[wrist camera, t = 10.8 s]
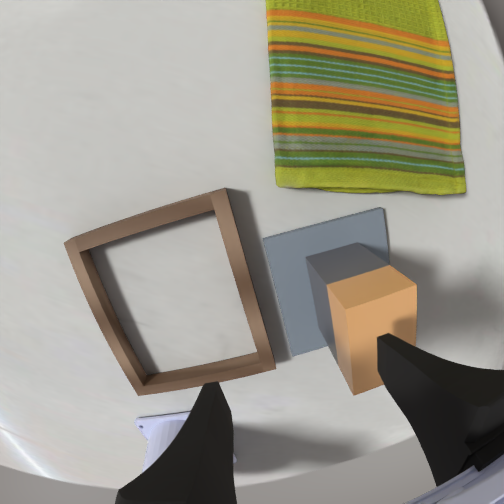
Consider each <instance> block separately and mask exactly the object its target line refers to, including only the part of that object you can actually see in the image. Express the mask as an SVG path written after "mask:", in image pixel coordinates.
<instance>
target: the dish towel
mask: <svg viewBox="0 0 504 504" xmlns="http://www.w3.org/2000/svg"><path fill="white" fill-rule="evenodd" d="M266 11H267V27H268V52H269V66H270V79H271V101H272V127H273V142H274V151H275V177H276V185H277V186H278V187H280V188H318V189H322V190H325V191H332V192H347V193H373V192H379V193H385V192H395V191H411V192H415V193H418V194H437V195H445V194H461V193H465V192H466V182H465V168H464V161H463V156H462V151H461V146H460V121H459V110H458V98H457V90H456V83H455V76H454V70H453V64H452V57H451V51H450V46H449V41H448V37H447V33H446V29H445V25H444V21H443V17H442V13H441V10H440V6H439V2H438V0H266Z"/></svg>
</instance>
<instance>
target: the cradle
mask: <svg viewBox="0 0 504 504" xmlns="http://www.w3.org/2000/svg"><path fill="white" fill-rule="evenodd" d="M211 210H215V214H216V217H217V221H218V224H219V228H220V231H221V234H222V238H223V241H224V245H225V248H226V251H227V255H228V258H229V261H230V265H231V268H232V271H233V275H234V278H235V281H236V285H237V288H238V291H239V294H240V298H241V301H242V304H243V307H244V311H245V314H246V317H247V320H248V323H249V327H250V330H251V333H252V336H253V339H254V342H255V346H256V349H257V352H256V353H252V354H248V355H244V356H240V357H236V358H231V359H227V360H223V361H218V362H214V363H209V364H204V365H199V366H195V367H190V368H184V369H179V370H174V371H168V372H163V373H157V374H151V375H146V373H145V371H144V369H143V368H142V366H141V364H140V362H139V360H138V358H137V356H136V354H135V353H134V351H133V349H132V347H131V345H130V343H129V341H128V339H127V337H126V335H125V333H124V331H123V329H122V327H121V325H120V323H119V320H118V318H117V316H116V314H115V312H114V310H113V307H112V305H111V303H110V301H109V298H108V296H107V294H106V292H105V289H104V287H103V284H102V282H101V280H100V277H99V275H98V272H97V270H96V267H95V265H94V262H93V260H92V257H91V254H90V252H89V249H90V248H93V247H96V246H99V245H102V244H104V243H107V242H110V241H113V240H116V239H120V238H123V237H126V236H129V235H132V234H135V233H138V232H141V231H144V230H148V229H151V228H154V227H157V226H160V225H164V224H167V223H170V222H174V221H177V220H180V219H184V218H187V217H190V216H194V215H197V214H201V213H204V212H208V211H211ZM64 245H65V248H66V251H67V253H68V256H69V258H70V261H71V264H72V266H73V269H74V271H75V274H76V276H77V279H78V281H79V283H80V286H81V288H82V290H83V293H84V295H85V297H86V299H87V302H88V304H89V306H90V308H91V310H92V312H93V314H94V317H95V319H96V321H97V323H98V325H99V327H100V329H101V331H102V333H103V335H104V337H105V339H106V341H107V342H108V344H109V346H110V348H111V350H112V352H113V354H114V355H115V357H116V359H117V361H118V363H119V364H120V366H121V368H122V370H123V371H124V373H125V375H126V376H127V378H128V380H129V382H130V383H131V385H132V386H133V388H134V390H135V391H136V393H137V395H138V396H141V395H149V394H156V393H163V392H169V391H175V390H181V389H187V388H193V387H198V386H203V385H204V384H205V383H210V382H215V381H218V382H223V381H228V380H233V379H237V378H242V377H246V376H250V375H254V374H258V373H262V372H266V371H270V370H274V369H276V365H275V361H274V357H273V353H272V350H271V346H270V343H269V339H268V336H267V332H266V329H265V325H264V322H263V318H262V315H261V311H260V308H259V304H258V301H257V297H256V294H255V290H254V287H253V283H252V280H251V276H250V273H249V269H248V266H247V262H246V258H245V255H244V251H243V248H242V244H241V241H240V237H239V233H238V230H237V226H236V223H235V219H234V216H233V212H232V208H231V205H230V201H229V198H228V194H227V190H226V188H223V189H219V190H216V191H212V192H209V193H205V194H202V195H198V196H195V197H191V198H188V199H185V200H181V201H178V202H175V203H172V204H169V205H165V206H162V207H159V208H156V209H153V210H150V211H147V212H144V213H141V214H138V215H135V216H132V217H129V218H126V219H123V220H120V221H117V222H114V223H111V224H108V225H106V226H103V227H100V228H97V229H94V230H92V231H89V232H86V233H83V234H81V235H78V236H75V237H73V238H71V239H69V240H68V241H66V242H64Z"/></svg>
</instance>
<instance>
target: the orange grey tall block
mask: <svg viewBox="0 0 504 504" xmlns="http://www.w3.org/2000/svg"><path fill="white" fill-rule="evenodd" d="M305 259H306V264H307V269H308V274H309V279H310V284H311V289H312V295H313V300H314V305H315V311H316V316H317V322H318V327H319V329H320V331H321V333H322V335H323V337H324V339H325V341H326V343H327V345H328V347H329V349H330V351H331V352H332V354H333V356H334V358H335V360H336V362H337V364H338V366H339V368H340V370H341V372H342V374H343V376H344V378H345V380H346V382H347V384H348V386H349V388H350V390H351V392H352V394H353V396H354V395H357V394H360V393H363V392H365V391H368V390H371V389H373V388H376V387H379V386H381V385H384V383H383V381H382V379H381V377H380V375H379V373H378V371H377V337H379V336H381V335H384V334H387V333H390V334H392V335H394V336H396V337H398V338H400V339H402V340H404V341H405V342H407V343H409V344H411V345H413V346H416V323H417V285H416V284H415V283H414V282H412V281H411V280H410V279H408V278H407V277H406V276H404V275H403V274H401V273H400V272H399V271H397V270H396V269H395V268H393V267H392V266H390V265H389V264H388V263H386V262H385V261H383V260H382V259H380V258H379V257H378V256H376V255H375V254H373V253H372V252H370V251H369V250H368V249H366V248H365V247H363V246H362V245H360V244H359V243H357V242H356V243H353V244H349V245H346V246H342V247H339V248H335V249H332V250H328V251H324V252H321V253H317V254H314V255H310V256H306V257H305Z"/></svg>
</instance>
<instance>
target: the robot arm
mask: <svg viewBox="0 0 504 504" xmlns="http://www.w3.org/2000/svg"><path fill="white" fill-rule="evenodd" d="M377 371H378V373H379V375H380V377H381V379H382V381H383V383H384V385H385V387H386V389H387V390H388V392H389V393H390V394H391V396H392V397H393V399H394V400H395V402H396V403H397V405H398V406H399V408H400V409H401V411H402V412H403V413H404V415H405V416H406V418H407V419H408V421H409V423H410V424H411V426H412V428H413V430H414V432H415V434H416V436H417V438H418V440H419V442H420V444H421V447H422V449H423V451H424V453H425V455H426V458H427V461H428V463H429V466H430V468H431V471H432V474H433V477H434V480H435V483H436V486H437V487H436V488H435V489H432V490H431V491H429V492H427V493H425V494H423V495H421V496H419V497H417V498H414V499H413V500H410V501H408V502H406V503H404V504H504V370H492V369H482V368H476V367H471V366H466V365H462V364H458V363H455V362H451V361H448V360H445V359H442V358H440V357H437V356H435V355H432V354H430V353H428V352H426V351H423V350H421V349H419V348H417V347H415V346H413V345H411V344H409V343H407V342H405V341H404V340H402V339H400V338H398V337H396V336H394V335H392V334H390V333H387V334H384V335H381V336H379V337H377ZM134 423H135V425H136V426H137V427H138V429H139V430H140V431H141V433H142V434H143V435H144V437H145V438H146V439H147V441H148V445H147V450H146V454H145V459H144V464H143V469H142V474H140V475H139V476H138V477H137V478H135V479H134V480H133V481H131V482H130V483H128V484H127V485H125V486H124V487H122V488H121V489H119V491H118V494H117V497H116V501H115V504H237V501H236V494H235V486H234V477H233V463H236V462H237V458H236V457H235V455H234V453H233V423H232V415H231V410H230V408H229V406H228V403H227V401H226V399H225V396H224V394H223V392H222V389H221V387H220V385H219V382H218V381H215V382H210V383H205V384H204V385H203V387H202V389H201V391H200V393H199V396H198V398H197V400H196V402H195V404H194V406H193V408H192V410H191V412H186V413H179V414H171V415H163V416H155V417H145V418H136V419H135V421H134ZM141 425H142V426H141Z"/></svg>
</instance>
